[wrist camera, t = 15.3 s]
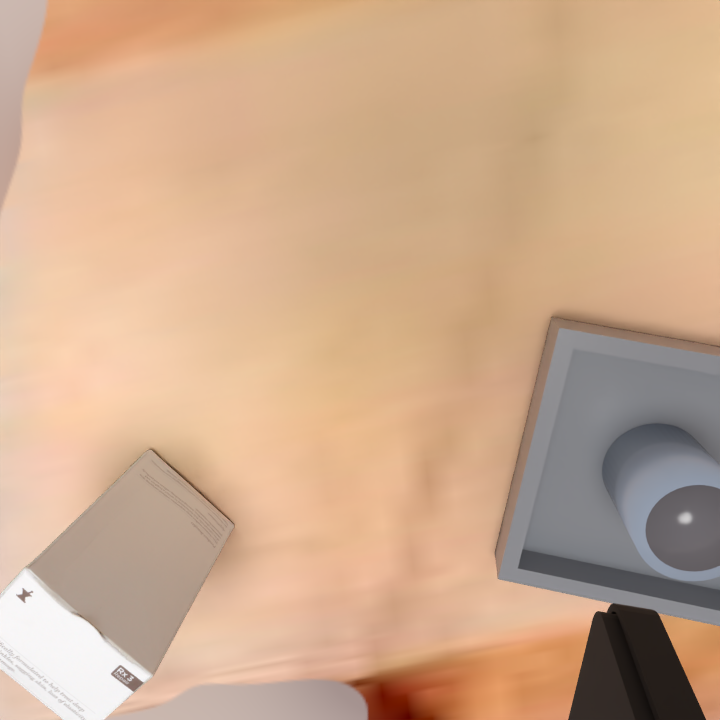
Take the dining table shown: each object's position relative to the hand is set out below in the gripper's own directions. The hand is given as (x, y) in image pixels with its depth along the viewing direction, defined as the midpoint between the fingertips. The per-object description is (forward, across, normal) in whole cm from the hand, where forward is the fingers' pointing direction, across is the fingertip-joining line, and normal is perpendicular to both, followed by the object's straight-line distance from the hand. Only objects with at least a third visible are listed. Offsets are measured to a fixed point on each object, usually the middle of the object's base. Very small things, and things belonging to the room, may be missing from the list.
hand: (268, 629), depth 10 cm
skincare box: (+31, +14, +18) cm, 39 cm away
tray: (+31, -16, +10) cm, 36 cm away
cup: (+30, -16, +10) cm, 36 cm away
